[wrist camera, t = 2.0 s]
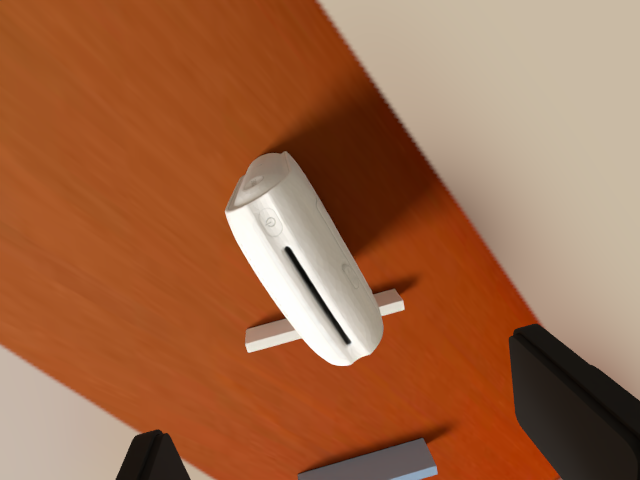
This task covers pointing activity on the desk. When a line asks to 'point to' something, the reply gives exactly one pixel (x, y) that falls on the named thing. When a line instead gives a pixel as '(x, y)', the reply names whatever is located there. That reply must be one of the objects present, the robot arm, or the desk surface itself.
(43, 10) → the desk surface
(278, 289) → the photo printer
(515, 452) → the desk surface
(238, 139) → the desk surface
